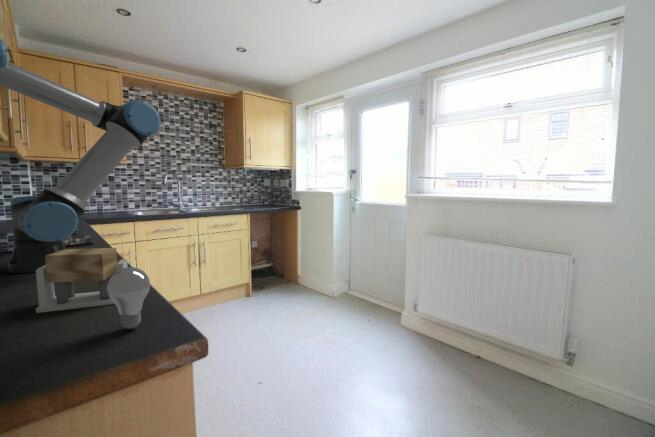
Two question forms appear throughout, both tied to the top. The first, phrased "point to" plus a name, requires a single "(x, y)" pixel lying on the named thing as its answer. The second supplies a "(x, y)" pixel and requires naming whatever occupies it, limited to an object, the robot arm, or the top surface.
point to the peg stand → (70, 293)
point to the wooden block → (81, 264)
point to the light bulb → (129, 294)
